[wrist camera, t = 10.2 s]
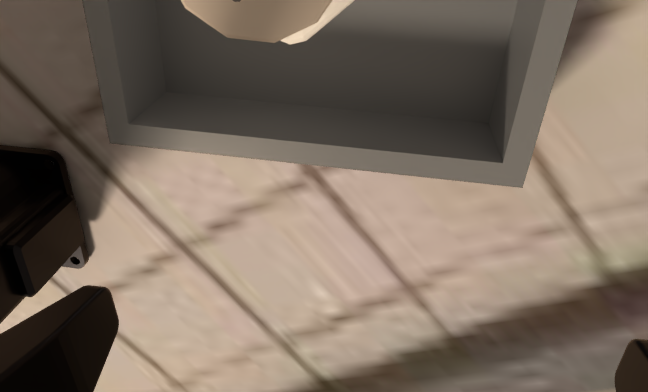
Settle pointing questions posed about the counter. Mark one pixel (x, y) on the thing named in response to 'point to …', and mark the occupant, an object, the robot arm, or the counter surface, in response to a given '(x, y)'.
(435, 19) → the bin
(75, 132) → the counter surface
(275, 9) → the salt shaker
